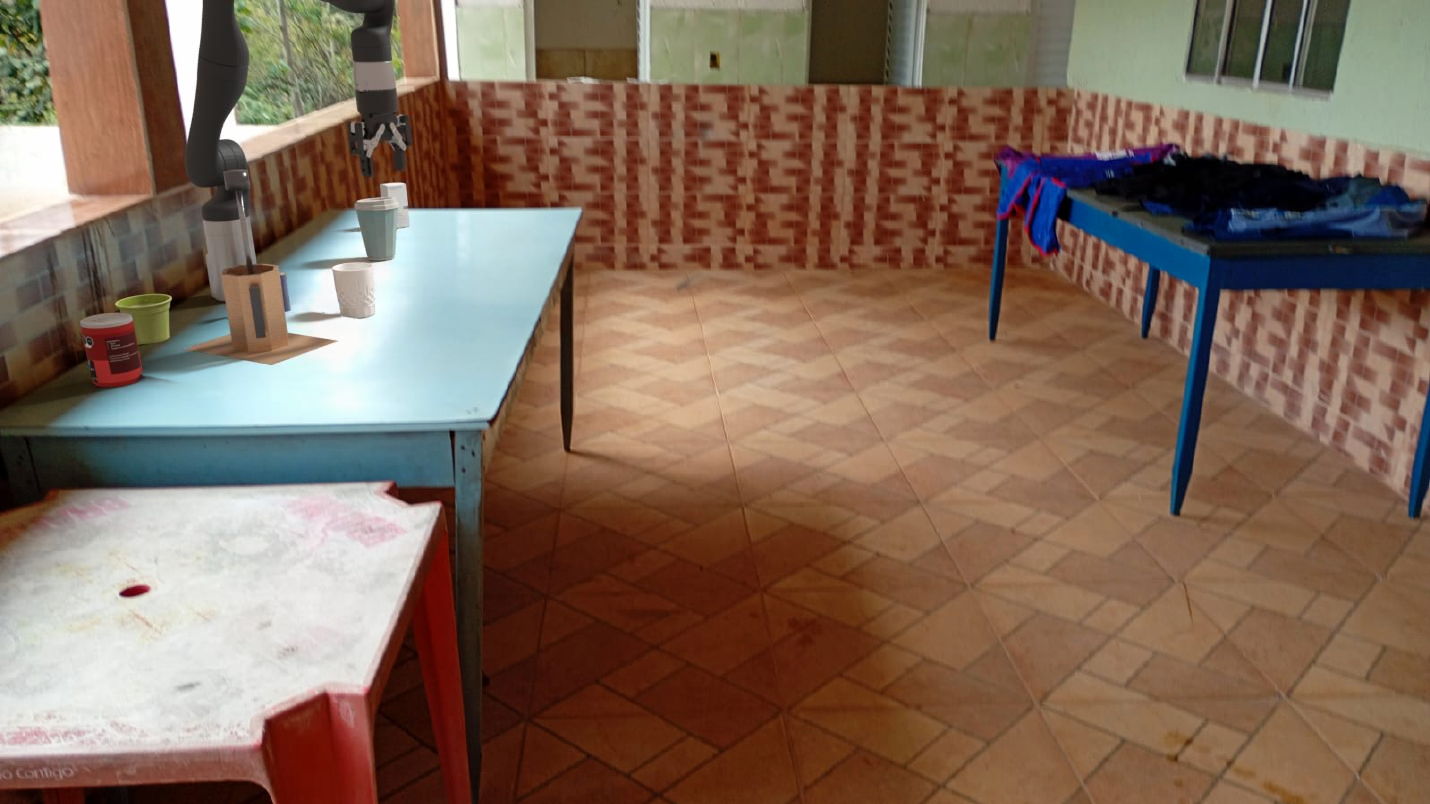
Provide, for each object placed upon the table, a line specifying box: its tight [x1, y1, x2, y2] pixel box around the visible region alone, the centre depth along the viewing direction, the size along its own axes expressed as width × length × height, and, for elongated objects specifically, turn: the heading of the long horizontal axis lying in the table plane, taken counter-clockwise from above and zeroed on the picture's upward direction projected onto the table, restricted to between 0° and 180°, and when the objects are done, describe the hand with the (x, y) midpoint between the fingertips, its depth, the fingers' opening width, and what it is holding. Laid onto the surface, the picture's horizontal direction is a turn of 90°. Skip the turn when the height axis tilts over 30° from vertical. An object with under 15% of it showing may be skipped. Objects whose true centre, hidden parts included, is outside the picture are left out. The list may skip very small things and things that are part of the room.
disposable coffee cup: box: [354, 196, 399, 262], centre depth 279 cm, size 11×11×15 cm
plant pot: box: [114, 293, 173, 346], centre depth 211 cm, size 9×9×9 cm
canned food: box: [79, 312, 144, 388], centre depth 191 cm, size 8×8×11 cm
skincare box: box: [379, 181, 411, 229], centre depth 318 cm, size 6×4×12 cm
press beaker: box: [221, 263, 289, 353], centre depth 205 cm, size 11×10×14 cm
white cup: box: [331, 261, 376, 319], centre depth 230 cm, size 8×8×10 cm
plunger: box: [223, 169, 254, 275], centre depth 201 cm, size 6×6×23 cm
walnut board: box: [183, 332, 338, 366], centre depth 208 cm, size 22×16×1 cm
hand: (384, 173), depth 218 cm, fingers open, 8 cm apart
